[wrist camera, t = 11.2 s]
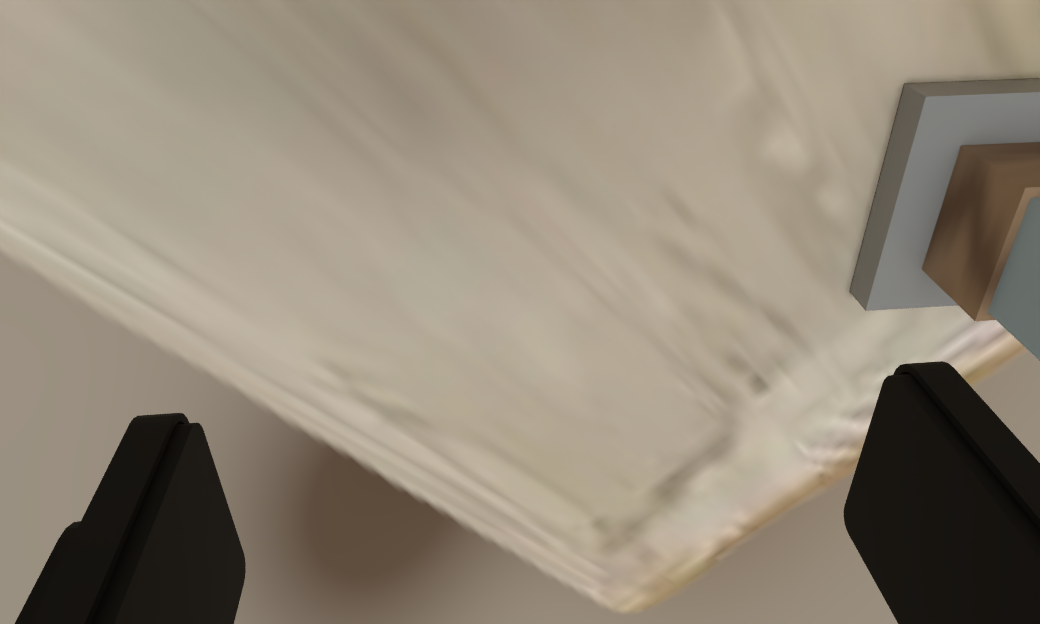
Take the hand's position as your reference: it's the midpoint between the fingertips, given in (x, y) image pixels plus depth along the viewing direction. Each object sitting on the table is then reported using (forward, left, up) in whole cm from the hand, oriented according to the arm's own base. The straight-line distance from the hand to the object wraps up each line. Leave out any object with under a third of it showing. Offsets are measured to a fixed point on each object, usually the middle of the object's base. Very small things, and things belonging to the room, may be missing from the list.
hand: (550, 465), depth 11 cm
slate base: (+10, +27, -28) cm, 40 cm away
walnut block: (+10, +27, -26) cm, 39 cm away
